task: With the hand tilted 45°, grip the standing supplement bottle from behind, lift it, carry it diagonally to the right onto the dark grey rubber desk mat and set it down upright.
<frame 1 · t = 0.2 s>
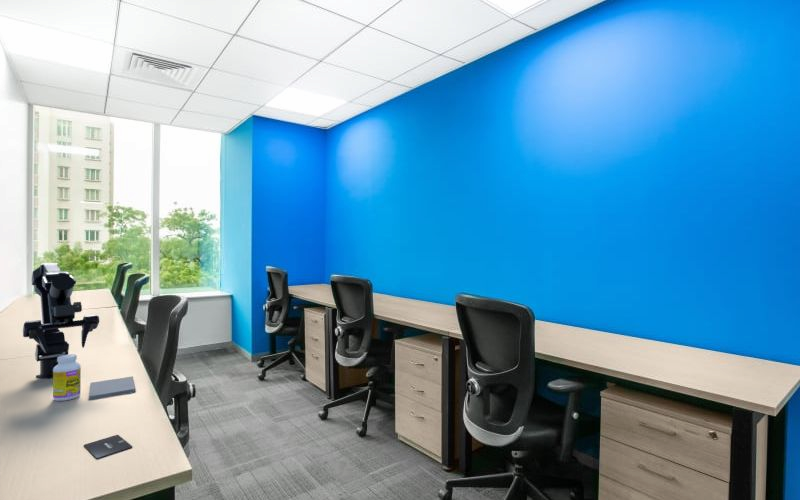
hand: (65, 349, 131), 14 cm above the table, tool tilted 35°, fingers open, 9 cm apart
solid state drive: (108, 449, 97), on the table
supplement bottle: (67, 398, 129), on the table
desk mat: (112, 388, 137), on the table
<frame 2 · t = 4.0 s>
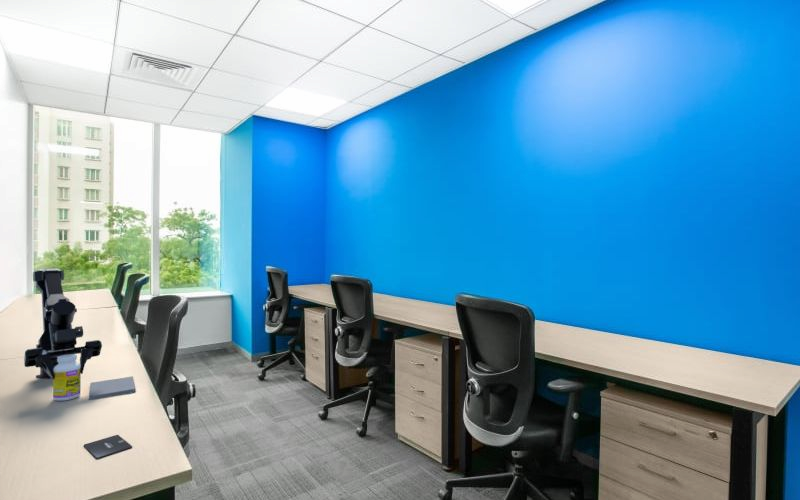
hand: (67, 375, 128), 7 cm above the table, tool tilted 45°, fingers closed on supplement bottle, 7 cm apart
supplement bottle: (67, 398, 129), on the table, touching gripper
everything else where it was.
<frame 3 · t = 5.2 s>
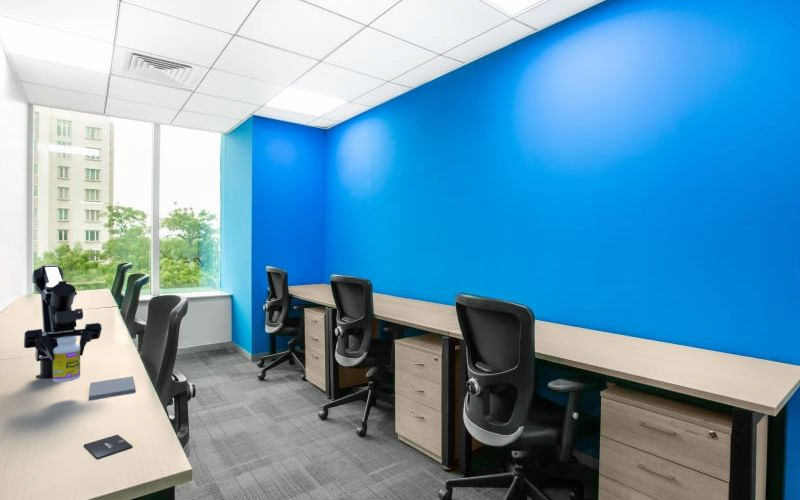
hand: (67, 357, 128), 13 cm above the table, tool tilted 45°, fingers closed on supplement bottle, 7 cm apart
supplement bottle: (66, 380, 129), point 5 cm above the table, touching gripper
everything else where it was.
when the fingers open (9 cm above the table, at t = 8.3 s): supplement bottle stays where it is, resting on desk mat.
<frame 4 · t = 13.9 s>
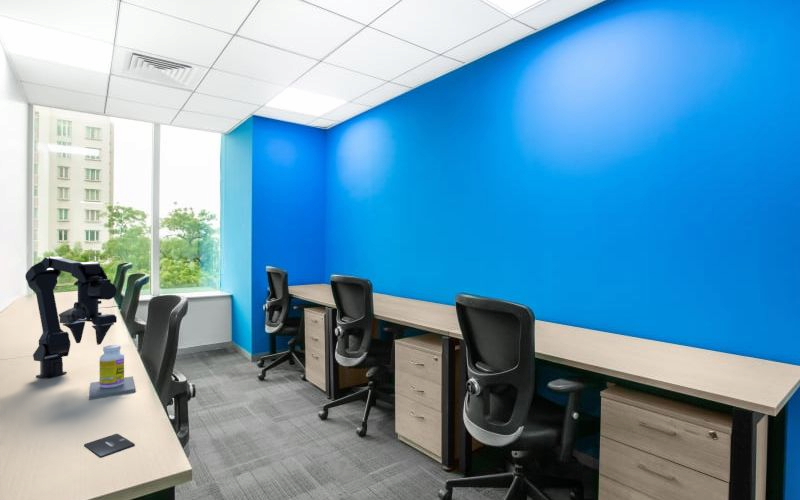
hand: (88, 343, 145), 13 cm above the table, tool pointing down, fingers open, 9 cm apart
supplement bottle: (112, 386, 137), point 1 cm above the table, touching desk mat
everything else where it was.
at the end: supplement bottle inside the target area on the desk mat (0.2 cm from its centre), point 0.8 cm above the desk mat's base; supplement bottle tilted 0°; the gripper is holding nothing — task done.
